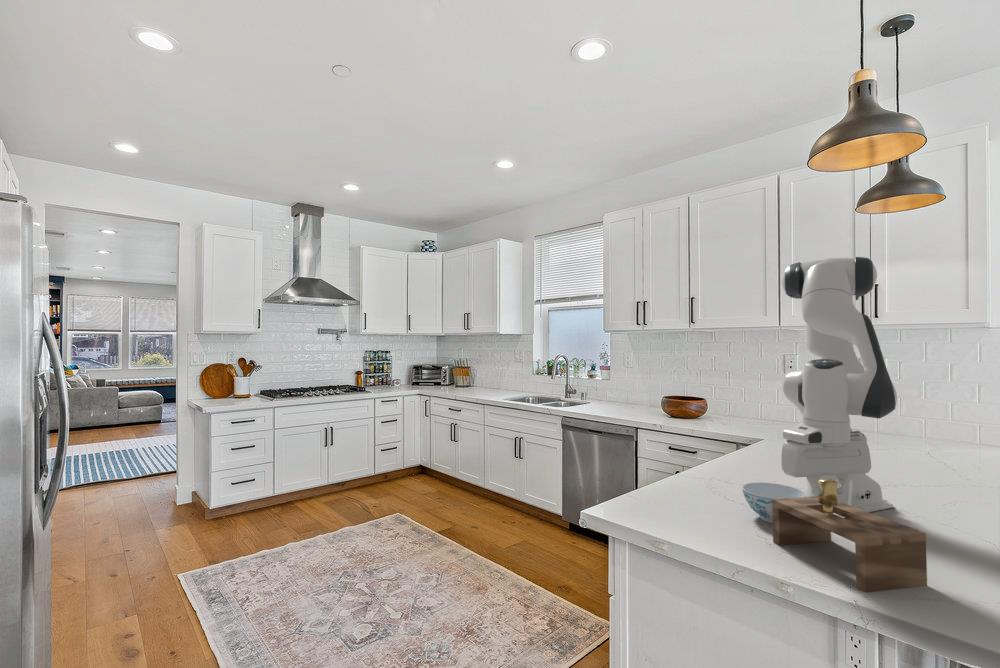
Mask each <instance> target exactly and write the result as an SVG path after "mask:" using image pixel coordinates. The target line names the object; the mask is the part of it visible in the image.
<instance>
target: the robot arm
mask: <svg viewBox="0 0 1000 668" xmlns="http://www.w3.org/2000/svg"><path fill="white" fill-rule="evenodd" d="M877 278H878V271H877V268H876V266H875V265H874V262H873V261H872V259H870V258H868V257H863V256H854V257H831V258H830V257H829V258H826V259H818V260H811V261H806V262H801V261H800V262H795V263H791V264H789V265H788V266H787V267H786V268H785V270H784V272H783V275H782V278H781V285H782V287H783V290H784V292H785V294H786V296H788V297H790V298H792V299H799V300H800V299H801V313H802V318H803V320H804V322H805V323H806V347H807V349H808V351H809V352H810V353H811V354H812V355H814V356H816V357H818V358H820V359H813V360H812V359H811V360H809V361H807V362H805V364H804V368H803V369H799V370H792V371H790V372H788V373H787V374H786V375H785V377H784V379H783V381H782V392H783V394H784V396H785V398H786V399H787V400H788V401H790V402H791V403H792V404H793V406H795V407H796V408H797V409H798V411H799V412H800V413H801V416H802V421H801V422H799V423H797V424H795V425H793V426H790V427H788V428H786V429H784V430H783V431H782V438H783V439H784V440H785V441H784V442H783V444H782V446H781V469H782V472H783V473H785V475H787V476H790V477H793V478H806V480H807V481H806V485H805V486H806V487H805V491H804V492H805V493H806V497H812V496H823V495H824V493H823V491H824V488H822V487H820V486H819V484H818V481H819V480H820V479H822V478H823V479H831V480H835V481H837V498H838V501H839V502H842V503H845V504H847V505H850V506H853V507H855V508H858V509H861V510H864V511H866V512H869V513H873V512H878V511H882V510H887V509H892V508H894V505H893V504H894V503H892V502H891V501H890V500H886V499H884V498H883V493H882V487H881V485H880V484H879V482H878V481H875V480H874V479H873V478H872V477H871V476H869V475H868V473H869V472H870V471H871V469H872V459H871V454H870V448H869V445H868V439H867V436H866V435H865V434H864V433H862V432H861V431H860V430H854V431H853V429H852V427H851V418H850V416H861V417H864V418H874V419H882V418H884V417H887V415H889V414H891V413H892V412H893V411H895V410H896V406H897V402H898V395H897V390H896V387H895V386H894V383H893V382H892V380H891V378H890V377H891V376H890V374H889V371H888V368H887V366H886V362H885V359H884V355H883V352H882V349H881V345H880V342H879V340H878V336H877V334H876V331H875V330H876V329H875V327H874V324H873V322H872V320H871V319H870V317H869V316H868V315H867V314H865V313H862V312H860V311H859V310H858V309H857V308H856V307H855V305H854V299H853V296H855V301H858V300H859V298H860V297H862V296H864V295H867V294H868V293H870V292H871V291H872V290H873V288H874V286H875V284H876V281H877ZM854 346H856V347H857V349H858V351H859V354H860V359H861V361H860V360H859V358H858V356H857V355H856V352H855V349H854ZM861 362H862V363H861Z"/></svg>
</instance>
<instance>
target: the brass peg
mask: <svg viewBox="0 0 1000 668" xmlns="http://www.w3.org/2000/svg"><path fill="white" fill-rule="evenodd" d="M818 484H819V486H820V487H822V488H824V491H823V493H824V495H823V496H818V502H819V503H820V504H823V513H824V514H827V515H831V514H834V513H833V506H837V505H838V498H837V481H835V480H831V479H823V478H822V479H820V480H819V481H818ZM816 526H817V525H816ZM817 527H819V526H817ZM819 528H821V527H819ZM821 529H823V528H821ZM825 530H826V529H825Z"/></svg>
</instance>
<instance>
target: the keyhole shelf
mask: <svg viewBox="0 0 1000 668" xmlns="http://www.w3.org/2000/svg"><path fill="white" fill-rule="evenodd" d="M772 514H773V523H772V543H775V544H776V545H778V546H784V545H785V546H787V545H795V544H806V543H807V544H808V543H818V542H829V541H832V533H833V534H835V535H838V536H840V537H842V538H844V539H847V540H849V541H851V542H853V543H855V544H854V545H855V546H854V547H855V549H854V550H855V584H856V585H855V587H856V588H857V589H859V590H860V591H863V592H865V593H871V592H879V591H881V592H882V591H888V590H889V591H890V590H897V589H898V590H899V589H906V588H915V587H923V586H928V566H927V565H928V564H927V534H926V532H924V531H921V530H918V529H916V528H913V527H910V526H908V525H904V524H902V523H899V522H897V521H894V520H890V519H889V518H888V519H887V518H886V517H883V516H880V515H877V514H874V513H873V512H866V511H864V510H861V509H858V508H855V507H853V506H850V505H847V504H845V503H842V502H839V501H838V505H837V506H833V514H831V515H827V514H824V513H823V504H820V503H819V502H818V496H812V497H798V498H784V499H772ZM816 525H817V526H819V527H821V528H823V529H821V528H819V527H817V526H816ZM825 529H826V530H825Z"/></svg>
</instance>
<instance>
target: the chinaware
mask: <svg viewBox="0 0 1000 668" xmlns="http://www.w3.org/2000/svg"><path fill="white" fill-rule="evenodd" d="M741 490H742V494H743V497H744V499H745V501H746V503H747V505H748V506H749V507H750V508H751V509H752V510H753V511H754V512H755V513H756V514H758V515H759V518H760V519H761V520H762V521H764V522H766V523H771V524H773V514H772V499H784V498H798V497H806V493H805V491H803V490H802V489H800V488H797V487H795V486H790V485H784V484H779V483H775V482H774V483H772V482H748V483H745V484H743V485H742V488H741Z"/></svg>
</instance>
